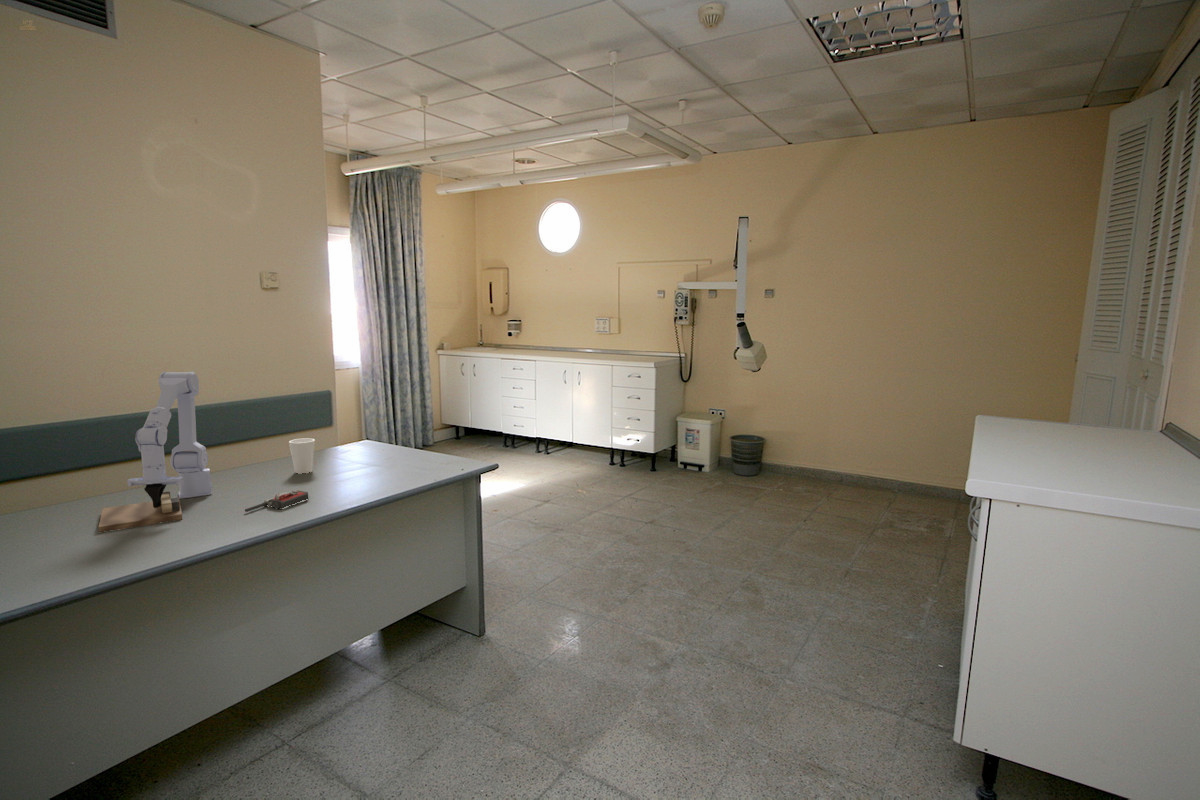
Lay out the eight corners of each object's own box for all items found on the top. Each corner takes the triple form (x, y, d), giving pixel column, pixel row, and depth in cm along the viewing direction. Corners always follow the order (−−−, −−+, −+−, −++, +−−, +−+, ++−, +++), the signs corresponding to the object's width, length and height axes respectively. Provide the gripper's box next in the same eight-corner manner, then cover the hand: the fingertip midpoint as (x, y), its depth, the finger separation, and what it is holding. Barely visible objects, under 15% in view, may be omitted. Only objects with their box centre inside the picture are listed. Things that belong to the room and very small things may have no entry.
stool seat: (179, 502, 201) (178, 488, 200) (182, 519, 185) (181, 504, 184) (103, 513, 189) (101, 499, 188) (99, 532, 173) (97, 517, 172)
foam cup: (309, 475, 236) (307, 443, 234) (286, 474, 236) (284, 442, 234) (320, 469, 246) (319, 438, 244) (298, 468, 246) (296, 437, 244)
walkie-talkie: (293, 496, 210) (242, 514, 192) (293, 484, 210) (241, 501, 191) (313, 499, 207) (263, 518, 189) (312, 487, 207) (262, 504, 188)
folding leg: (158, 501, 195) (157, 492, 195) (170, 499, 197) (169, 491, 197) (161, 513, 184) (160, 504, 184) (173, 511, 186) (173, 502, 186)
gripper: (119, 469, 179) (124, 511, 181) (173, 467, 182) (176, 509, 184) (133, 463, 186) (137, 504, 188) (184, 461, 189) (187, 502, 191)
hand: (157, 506), depth 187 cm, fingers closed, pressing on folding leg
